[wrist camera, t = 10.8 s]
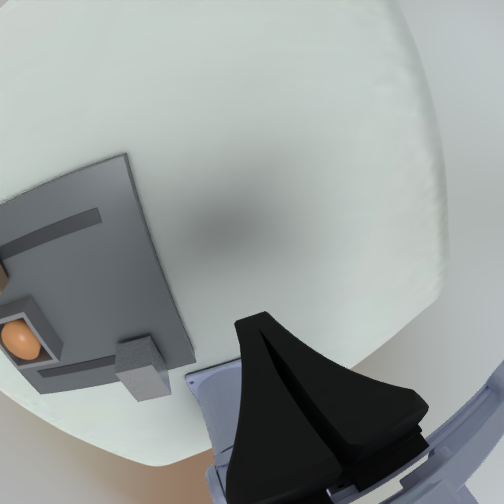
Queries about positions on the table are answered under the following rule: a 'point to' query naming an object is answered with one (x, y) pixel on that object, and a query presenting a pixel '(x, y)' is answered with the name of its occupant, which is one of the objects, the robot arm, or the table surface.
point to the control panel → (85, 278)
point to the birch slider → (3, 280)
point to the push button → (20, 339)
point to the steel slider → (142, 369)
